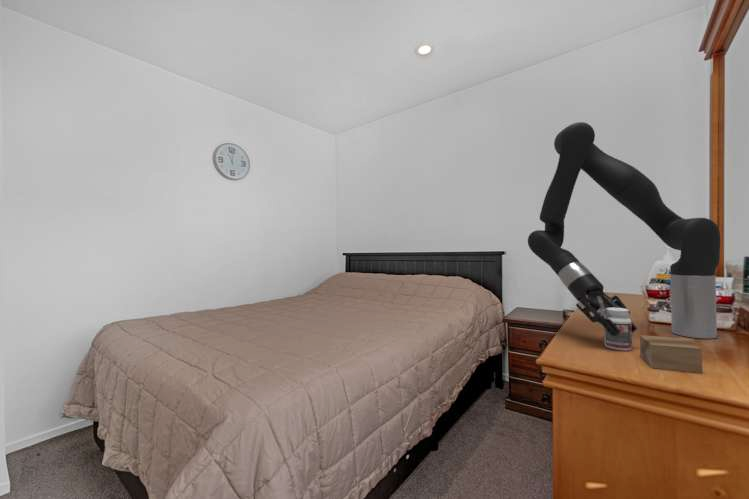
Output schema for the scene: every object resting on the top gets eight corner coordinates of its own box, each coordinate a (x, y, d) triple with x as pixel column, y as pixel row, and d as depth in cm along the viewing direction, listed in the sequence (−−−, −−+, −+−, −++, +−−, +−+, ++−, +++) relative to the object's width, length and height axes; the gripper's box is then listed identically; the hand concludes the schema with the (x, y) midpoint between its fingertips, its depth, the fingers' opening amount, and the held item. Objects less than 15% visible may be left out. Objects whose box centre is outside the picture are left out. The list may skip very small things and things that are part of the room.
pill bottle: (637, 351, 80) (636, 311, 79) (611, 350, 81) (610, 311, 81) (624, 344, 85) (623, 307, 85) (600, 344, 86) (599, 306, 86)
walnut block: (640, 356, 76) (639, 335, 76) (684, 360, 73) (684, 338, 73) (652, 368, 69) (651, 344, 69) (702, 373, 66) (701, 348, 66)
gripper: (569, 273, 87) (616, 327, 76) (606, 271, 92) (655, 321, 81) (553, 291, 92) (595, 344, 81) (589, 288, 97) (633, 337, 86)
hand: (625, 332), depth 81 cm, fingers closed on pill bottle, 5 cm apart
